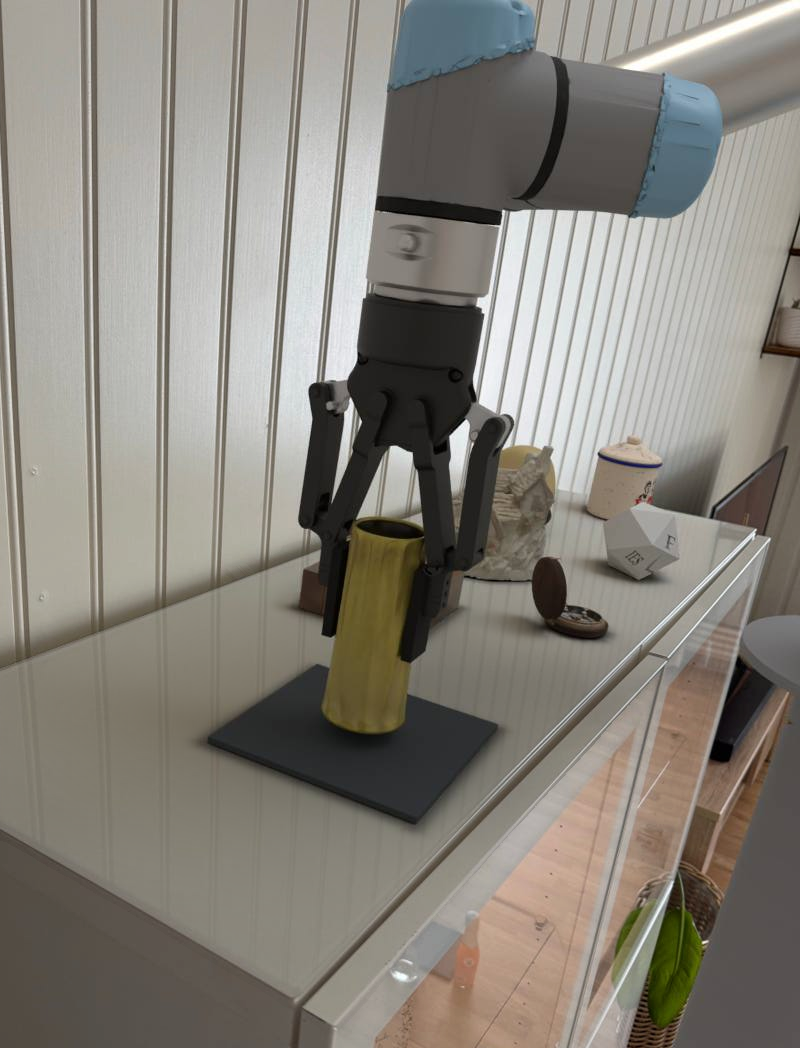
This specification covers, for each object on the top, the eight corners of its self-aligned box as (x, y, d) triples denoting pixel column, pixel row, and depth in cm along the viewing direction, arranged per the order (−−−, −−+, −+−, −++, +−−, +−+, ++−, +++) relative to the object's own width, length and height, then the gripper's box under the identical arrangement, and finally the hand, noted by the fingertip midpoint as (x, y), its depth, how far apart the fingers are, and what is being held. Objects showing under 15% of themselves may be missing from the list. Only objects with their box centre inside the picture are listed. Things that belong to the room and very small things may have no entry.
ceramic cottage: (536, 543, 122) (554, 425, 115) (556, 593, 107) (578, 460, 101) (413, 535, 122) (424, 417, 116) (416, 583, 108) (429, 451, 101)
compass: (618, 640, 95) (636, 570, 92) (545, 639, 93) (561, 567, 90) (581, 609, 102) (596, 543, 99) (512, 607, 100) (526, 540, 97)
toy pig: (475, 544, 132) (491, 509, 122) (477, 467, 136) (492, 427, 126) (546, 550, 132) (568, 516, 122) (546, 472, 136) (567, 433, 126)
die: (597, 583, 113) (666, 531, 107) (574, 527, 118) (639, 474, 112) (642, 603, 118) (710, 554, 111) (618, 548, 123) (682, 499, 117)
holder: (458, 607, 98) (465, 570, 96) (411, 642, 88) (418, 602, 86) (353, 577, 103) (358, 541, 101) (298, 607, 93) (303, 568, 91)
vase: (405, 741, 67) (439, 546, 62) (318, 729, 67) (344, 534, 62) (403, 701, 73) (433, 520, 67) (322, 691, 73) (346, 509, 67)
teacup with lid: (643, 528, 136) (664, 447, 131) (579, 514, 139) (597, 434, 135) (653, 511, 146) (673, 435, 142) (593, 499, 149) (611, 424, 145)
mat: (497, 729, 74) (498, 724, 74) (415, 824, 61) (417, 817, 61) (316, 668, 80) (317, 663, 80) (207, 742, 67) (207, 736, 67)
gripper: (264, 275, 59) (234, 622, 68) (555, 319, 52) (478, 702, 61) (321, 277, 65) (287, 594, 74) (589, 317, 58) (514, 664, 67)
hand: (373, 642), depth 68 cm, fingers closed on vase, 5 cm apart
